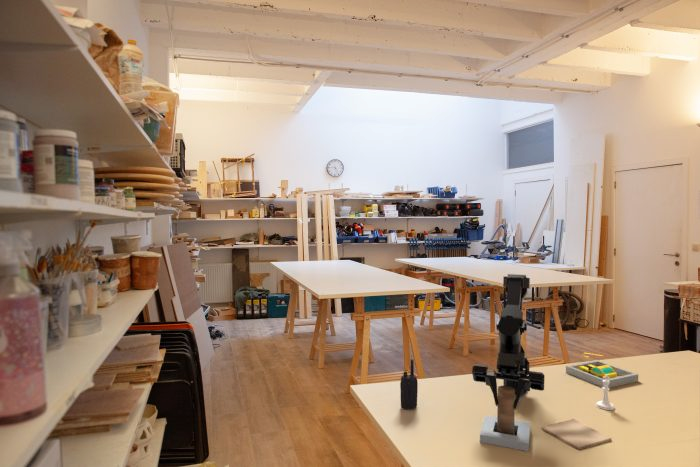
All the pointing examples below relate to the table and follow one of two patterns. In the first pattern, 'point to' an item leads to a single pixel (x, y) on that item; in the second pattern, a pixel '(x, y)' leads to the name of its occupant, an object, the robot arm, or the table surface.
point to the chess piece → (605, 396)
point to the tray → (623, 378)
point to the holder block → (505, 439)
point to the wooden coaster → (576, 434)
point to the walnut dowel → (506, 410)
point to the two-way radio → (409, 389)
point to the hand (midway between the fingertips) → (505, 406)
